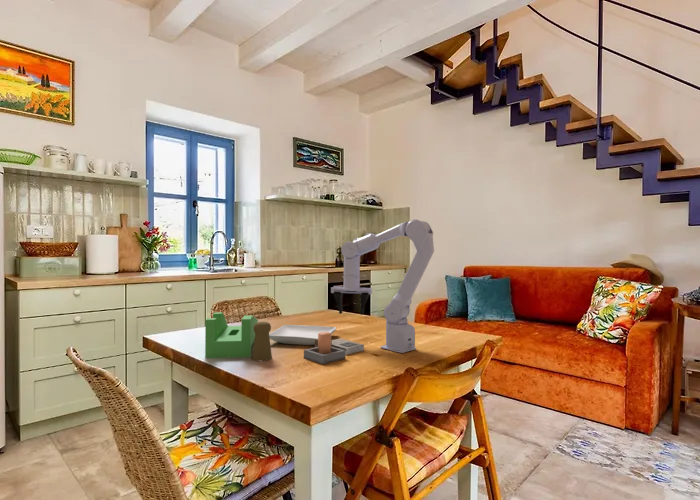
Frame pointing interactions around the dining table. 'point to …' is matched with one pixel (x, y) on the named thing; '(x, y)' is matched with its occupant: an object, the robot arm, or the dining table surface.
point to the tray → (326, 358)
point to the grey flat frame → (347, 346)
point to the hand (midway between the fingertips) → (351, 313)
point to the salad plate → (299, 334)
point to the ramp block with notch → (228, 337)
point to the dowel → (324, 343)
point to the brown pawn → (261, 342)
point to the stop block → (317, 343)
